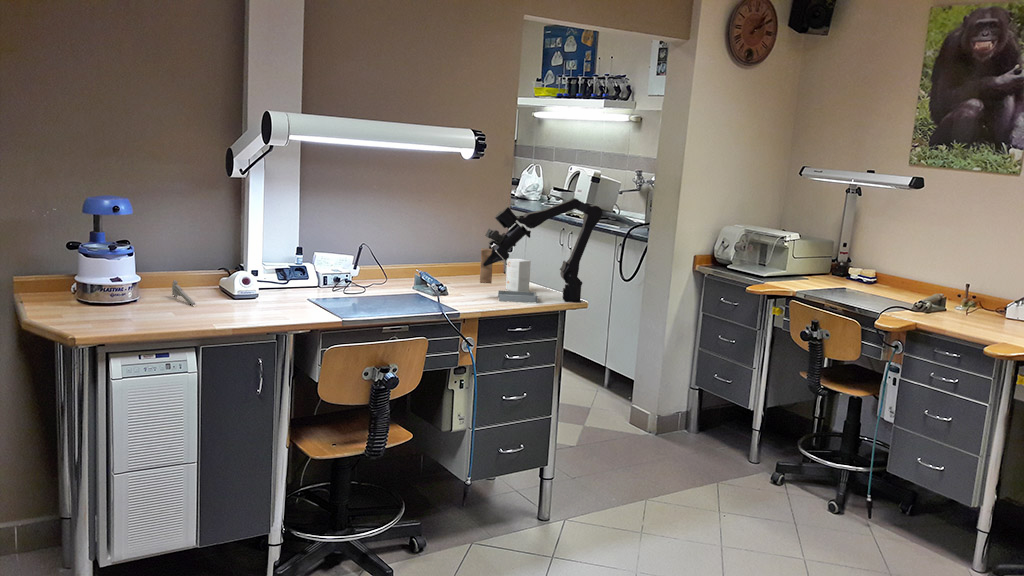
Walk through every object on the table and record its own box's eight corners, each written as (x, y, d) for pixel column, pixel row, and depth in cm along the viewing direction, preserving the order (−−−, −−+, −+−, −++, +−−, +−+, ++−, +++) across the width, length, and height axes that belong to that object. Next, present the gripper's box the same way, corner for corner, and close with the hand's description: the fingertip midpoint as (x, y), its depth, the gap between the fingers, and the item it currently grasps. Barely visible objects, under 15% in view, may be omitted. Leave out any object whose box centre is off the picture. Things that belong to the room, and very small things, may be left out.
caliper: (171, 296, 299) (171, 279, 297) (175, 296, 299) (174, 279, 298) (193, 307, 284) (193, 289, 282) (196, 307, 284) (196, 289, 283)
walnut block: (491, 281, 329) (492, 248, 327) (491, 283, 325) (493, 250, 322) (479, 280, 329) (481, 248, 326) (479, 283, 324) (481, 250, 322)
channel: (535, 298, 334) (535, 292, 333) (537, 302, 324) (537, 296, 324) (498, 296, 333) (498, 290, 332) (498, 301, 324) (499, 294, 323)
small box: (529, 291, 347) (531, 260, 345) (517, 292, 343) (519, 261, 341) (516, 288, 353) (518, 257, 351) (505, 289, 349) (507, 258, 347)
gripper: (494, 219, 332) (466, 246, 332) (502, 224, 314) (471, 252, 314) (513, 239, 335) (484, 266, 335) (521, 246, 317) (491, 274, 317)
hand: (482, 264), depth 325 cm, fingers closed on walnut block, 5 cm apart
